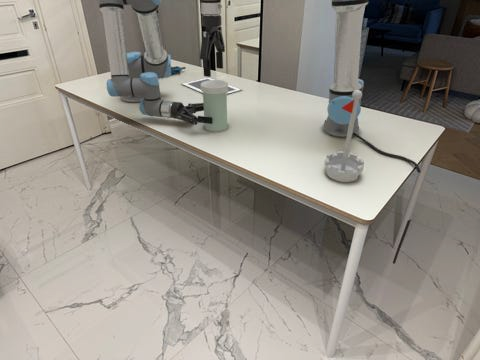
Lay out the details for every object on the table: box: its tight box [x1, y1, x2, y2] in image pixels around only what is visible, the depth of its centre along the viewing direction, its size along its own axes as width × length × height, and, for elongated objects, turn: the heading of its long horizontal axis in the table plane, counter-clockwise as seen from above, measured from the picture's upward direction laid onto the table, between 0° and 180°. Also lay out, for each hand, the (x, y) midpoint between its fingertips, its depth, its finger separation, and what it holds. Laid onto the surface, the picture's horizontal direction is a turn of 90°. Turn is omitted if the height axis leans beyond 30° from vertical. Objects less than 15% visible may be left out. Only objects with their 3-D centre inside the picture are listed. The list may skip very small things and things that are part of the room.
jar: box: [202, 91, 228, 133], centre depth 148 cm, size 10×10×19 cm
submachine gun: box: [171, 65, 187, 75], centre depth 224 cm, size 34×4×25 cm
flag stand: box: [323, 90, 365, 183], centre depth 111 cm, size 13×13×30 cm
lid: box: [201, 79, 229, 94], centre depth 144 cm, size 12×12×2 cm
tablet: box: [181, 77, 242, 95], centre depth 200 cm, size 32×20×1 cm, turn 41°
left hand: (217, 114), depth 149 cm, fingers open, 13 cm apart
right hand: (213, 72), depth 140 cm, fingers open, 12 cm apart
